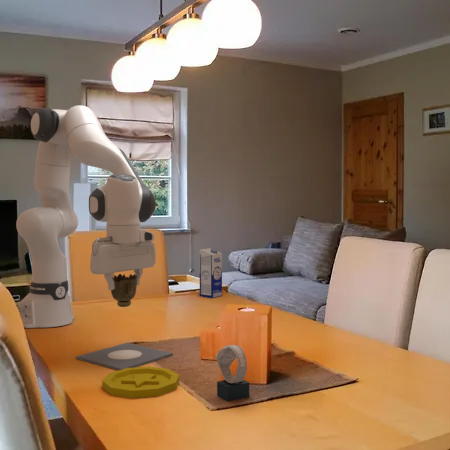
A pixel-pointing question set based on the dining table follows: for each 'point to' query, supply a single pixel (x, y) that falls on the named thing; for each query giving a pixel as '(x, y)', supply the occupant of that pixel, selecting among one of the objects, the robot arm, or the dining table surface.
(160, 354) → the charcoal mat
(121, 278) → the cup
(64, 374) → the dining table surface
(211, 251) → the milk carton
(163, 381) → the decorative disc
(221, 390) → the watch
